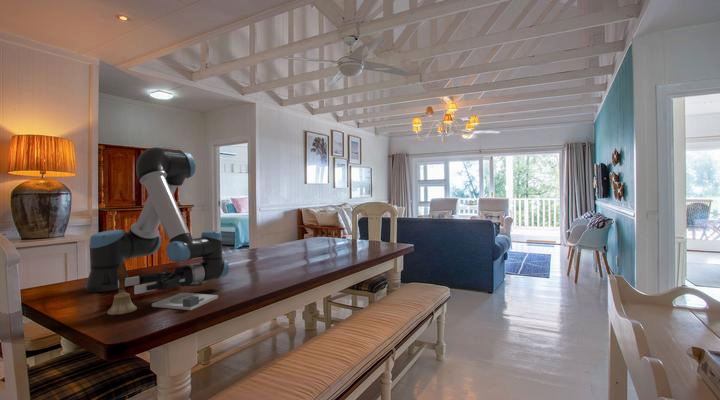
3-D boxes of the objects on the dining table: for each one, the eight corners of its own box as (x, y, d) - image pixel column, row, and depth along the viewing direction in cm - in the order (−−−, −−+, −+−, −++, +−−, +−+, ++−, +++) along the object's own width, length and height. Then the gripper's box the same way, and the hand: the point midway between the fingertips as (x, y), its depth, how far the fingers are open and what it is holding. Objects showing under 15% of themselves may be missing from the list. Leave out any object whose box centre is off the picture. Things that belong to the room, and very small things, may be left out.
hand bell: (121, 306, 123) (119, 260, 123) (142, 307, 122) (141, 261, 122) (100, 314, 115) (99, 265, 115) (123, 315, 114) (122, 266, 113)
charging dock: (151, 306, 123) (151, 296, 123) (182, 295, 136) (182, 286, 136) (190, 310, 118) (190, 300, 118) (218, 297, 132) (217, 288, 132)
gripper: (206, 289, 128) (142, 304, 111) (173, 279, 143) (112, 292, 126) (206, 268, 128) (141, 281, 111) (172, 261, 143) (111, 270, 126)
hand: (126, 286), depth 119 cm, fingers open, 13 cm apart
